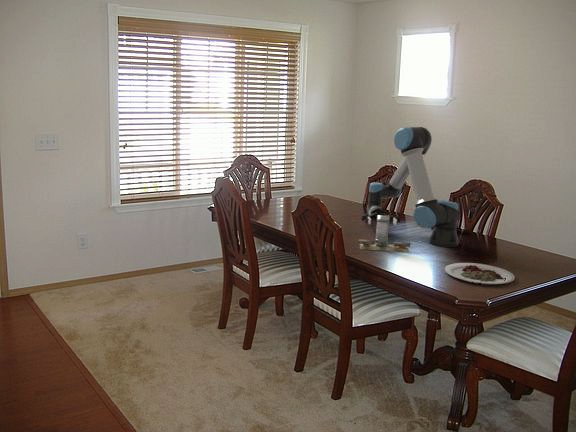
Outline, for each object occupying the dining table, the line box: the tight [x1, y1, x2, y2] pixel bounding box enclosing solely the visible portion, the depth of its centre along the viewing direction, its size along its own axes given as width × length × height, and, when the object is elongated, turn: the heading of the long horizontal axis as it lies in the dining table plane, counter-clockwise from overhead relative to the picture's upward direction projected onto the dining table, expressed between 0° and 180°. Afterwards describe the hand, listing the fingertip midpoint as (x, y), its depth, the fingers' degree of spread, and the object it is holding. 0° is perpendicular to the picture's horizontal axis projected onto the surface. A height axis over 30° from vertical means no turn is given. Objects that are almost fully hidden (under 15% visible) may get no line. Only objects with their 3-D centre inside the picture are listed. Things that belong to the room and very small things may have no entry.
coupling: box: [374, 215, 390, 246], centre depth 313 cm, size 6×6×15 cm
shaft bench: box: [358, 239, 411, 253], centre depth 313 cm, size 26×8×4 cm, turn 85°
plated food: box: [444, 262, 516, 285], centre depth 274 cm, size 30×30×3 cm
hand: (383, 222), depth 319 cm, fingers open, 13 cm apart
